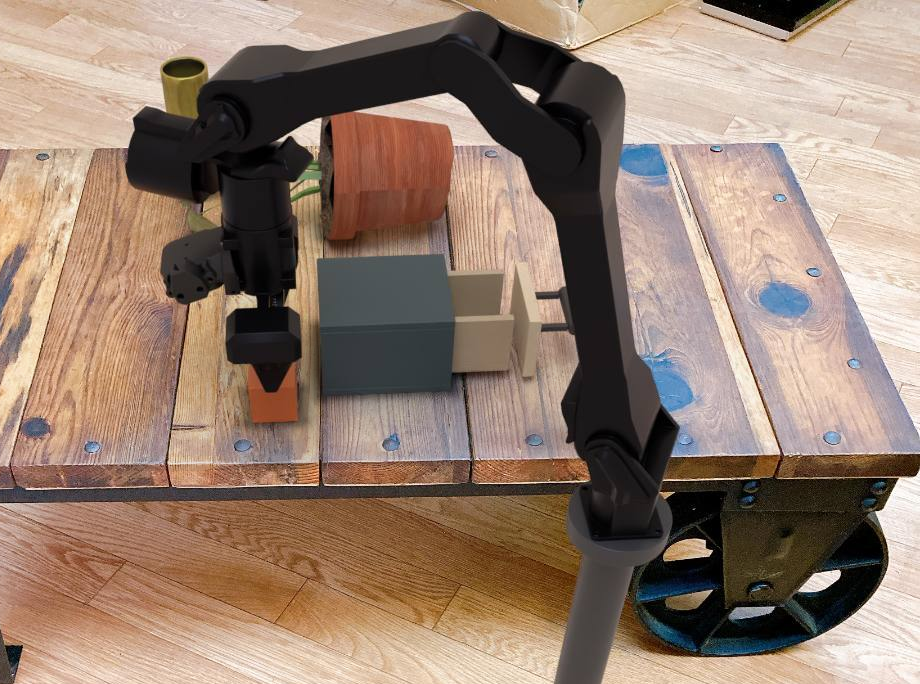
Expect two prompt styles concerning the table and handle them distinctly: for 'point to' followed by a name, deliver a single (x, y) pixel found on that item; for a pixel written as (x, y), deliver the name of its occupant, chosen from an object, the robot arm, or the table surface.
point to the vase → (183, 84)
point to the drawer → (499, 319)
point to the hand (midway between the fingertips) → (271, 358)
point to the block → (273, 399)
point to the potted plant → (374, 174)
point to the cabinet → (385, 324)
